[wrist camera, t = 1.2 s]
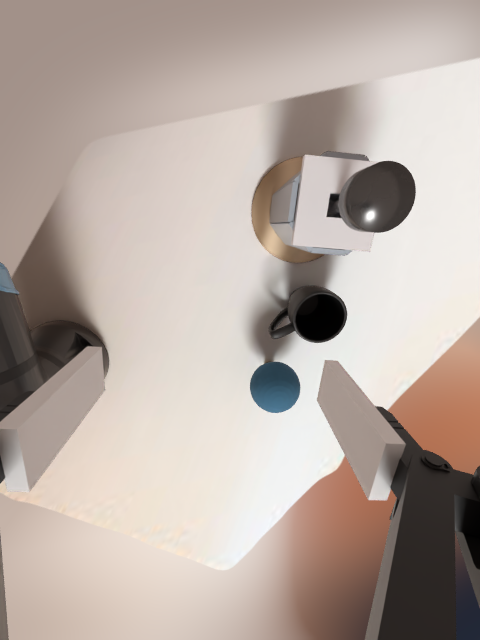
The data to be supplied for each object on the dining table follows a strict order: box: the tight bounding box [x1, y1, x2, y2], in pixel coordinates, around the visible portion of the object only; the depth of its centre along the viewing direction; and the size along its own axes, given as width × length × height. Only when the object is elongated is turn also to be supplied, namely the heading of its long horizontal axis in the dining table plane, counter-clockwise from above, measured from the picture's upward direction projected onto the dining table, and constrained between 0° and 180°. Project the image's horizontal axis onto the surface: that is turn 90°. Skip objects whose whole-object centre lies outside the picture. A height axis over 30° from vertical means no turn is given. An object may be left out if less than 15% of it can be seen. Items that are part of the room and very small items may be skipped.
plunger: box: [326, 161, 416, 233], centre depth 27 cm, size 8×8×12 cm
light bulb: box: [250, 362, 300, 413], centre depth 49 cm, size 8×8×12 cm
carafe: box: [269, 151, 379, 256], centre depth 38 cm, size 13×10×17 cm
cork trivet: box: [252, 157, 324, 263], centre depth 46 cm, size 16×16×1 cm
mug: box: [269, 286, 347, 343], centre depth 46 cm, size 8×12×10 cm
